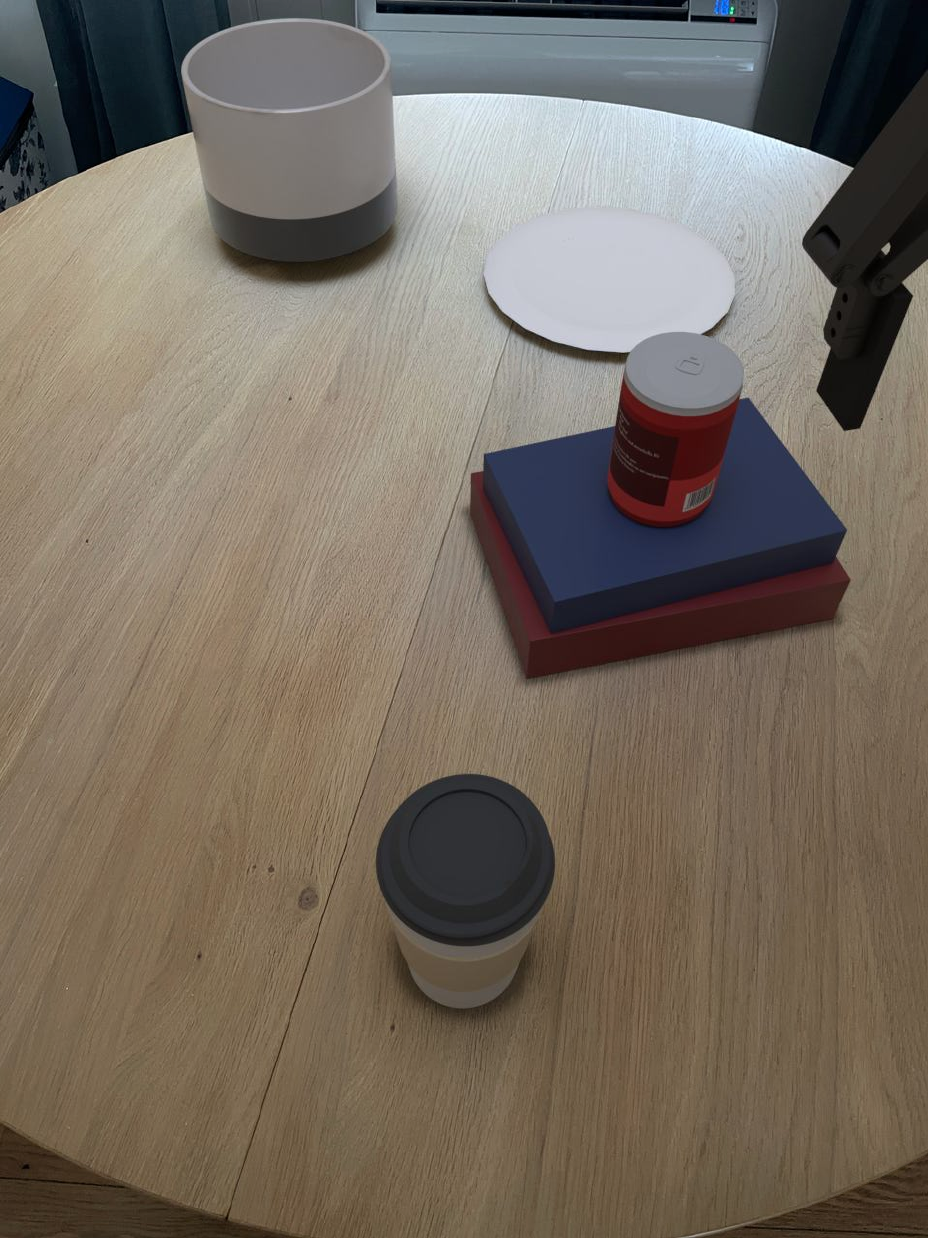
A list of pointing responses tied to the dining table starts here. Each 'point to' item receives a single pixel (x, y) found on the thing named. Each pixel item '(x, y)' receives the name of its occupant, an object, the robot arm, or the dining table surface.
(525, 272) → the plate
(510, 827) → the coffee cup
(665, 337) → the canned food
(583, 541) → the book stack
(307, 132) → the planter
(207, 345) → the dining table surface
